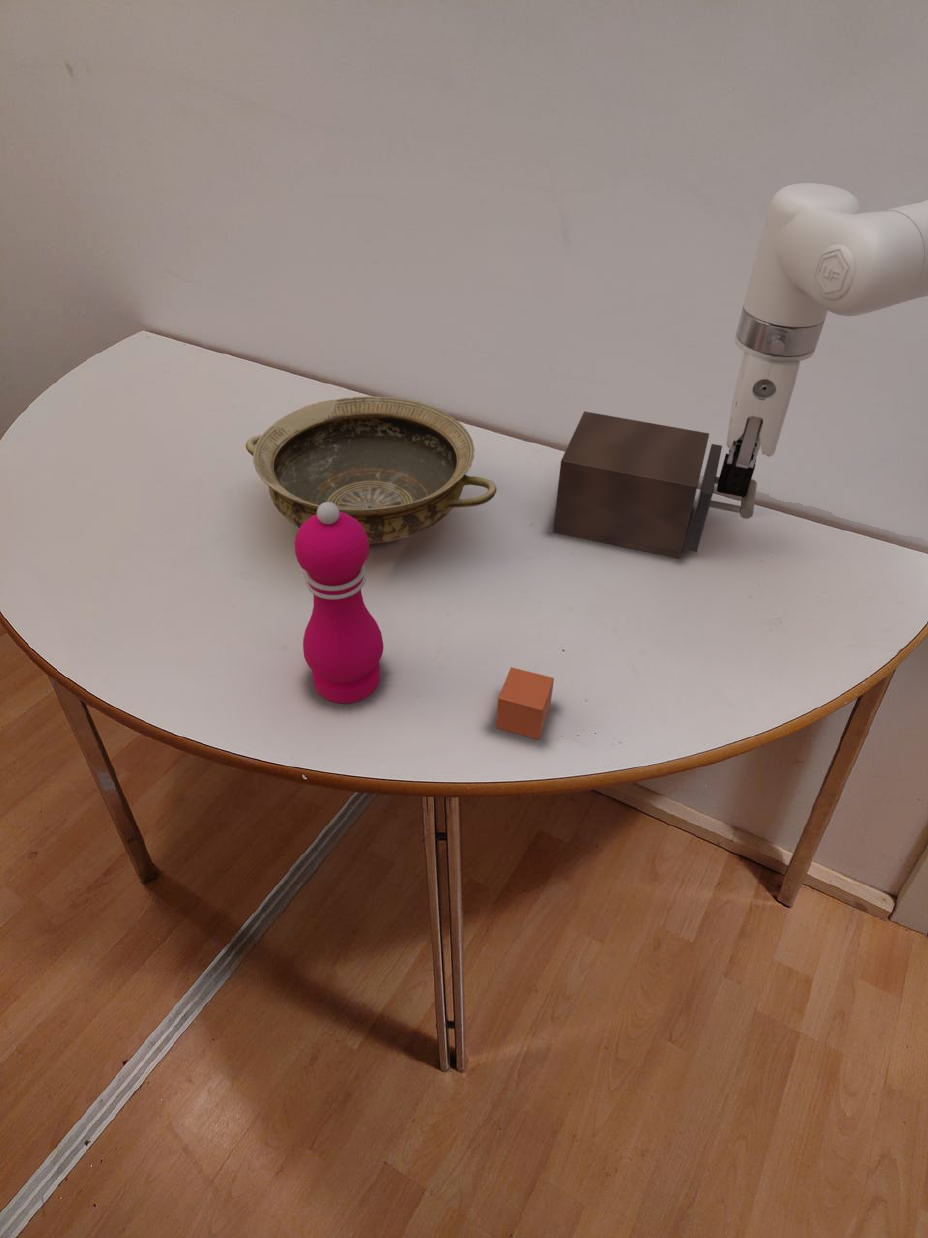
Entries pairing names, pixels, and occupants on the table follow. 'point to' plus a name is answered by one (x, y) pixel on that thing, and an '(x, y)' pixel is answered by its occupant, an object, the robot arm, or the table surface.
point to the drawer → (706, 502)
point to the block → (524, 703)
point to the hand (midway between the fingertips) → (731, 490)
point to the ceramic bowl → (369, 464)
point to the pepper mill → (338, 606)
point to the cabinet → (629, 483)
